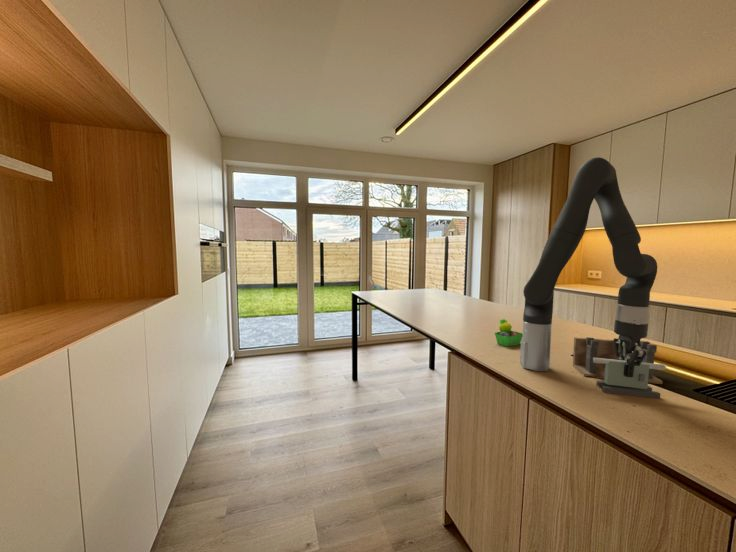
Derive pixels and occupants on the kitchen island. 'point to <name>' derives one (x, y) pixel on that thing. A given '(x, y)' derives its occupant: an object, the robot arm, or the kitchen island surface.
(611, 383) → the door
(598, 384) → the door rack
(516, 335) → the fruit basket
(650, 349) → the cabinet frame
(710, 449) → the kitchen island surface
